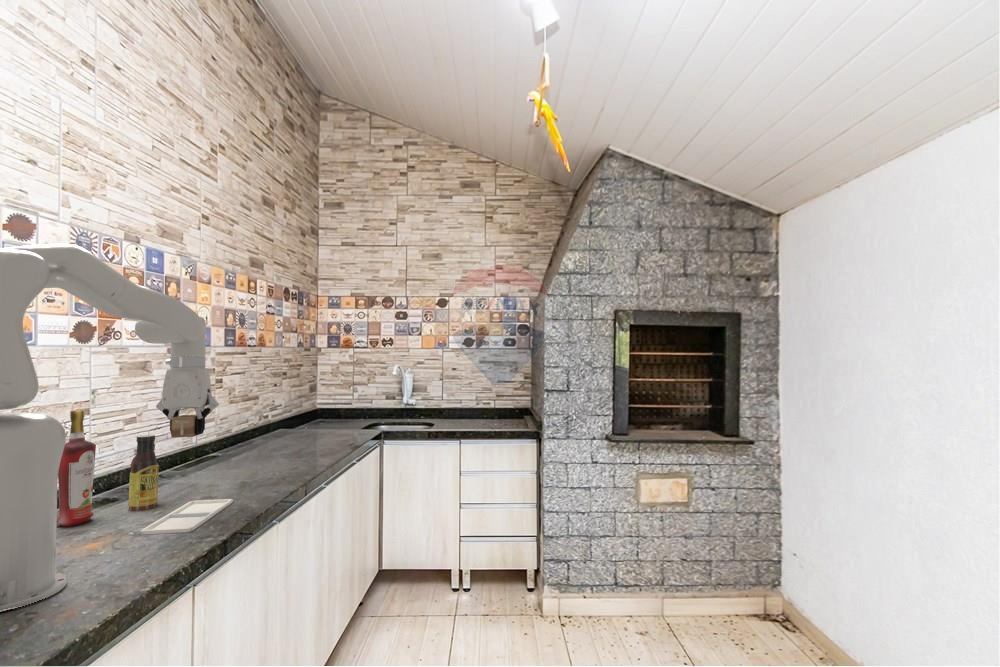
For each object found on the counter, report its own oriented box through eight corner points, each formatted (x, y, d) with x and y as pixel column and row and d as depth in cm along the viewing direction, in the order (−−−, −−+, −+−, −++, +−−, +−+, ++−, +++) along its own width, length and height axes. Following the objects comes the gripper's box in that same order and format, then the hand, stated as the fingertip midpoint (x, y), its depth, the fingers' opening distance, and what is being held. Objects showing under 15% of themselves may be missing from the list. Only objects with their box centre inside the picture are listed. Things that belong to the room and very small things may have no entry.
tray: (190, 535, 108) (190, 528, 108) (138, 538, 107) (139, 531, 107) (233, 504, 130) (233, 498, 130) (191, 506, 129) (191, 500, 129)
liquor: (78, 517, 122) (80, 408, 123) (102, 518, 120) (104, 408, 121) (46, 527, 114) (49, 412, 115) (71, 529, 113) (74, 412, 114)
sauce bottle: (141, 515, 123) (142, 438, 123) (121, 513, 124) (123, 437, 125) (164, 506, 129) (165, 433, 130) (145, 505, 130) (146, 433, 131)
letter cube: (192, 437, 119) (192, 416, 119) (171, 437, 118) (171, 417, 118) (202, 433, 124) (203, 414, 124) (182, 434, 123) (182, 414, 124)
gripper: (143, 364, 117) (142, 438, 116) (216, 363, 119) (215, 435, 118) (161, 363, 125) (160, 432, 124) (229, 362, 127) (229, 430, 126)
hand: (187, 433), depth 121 cm, fingers closed on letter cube, 4 cm apart
